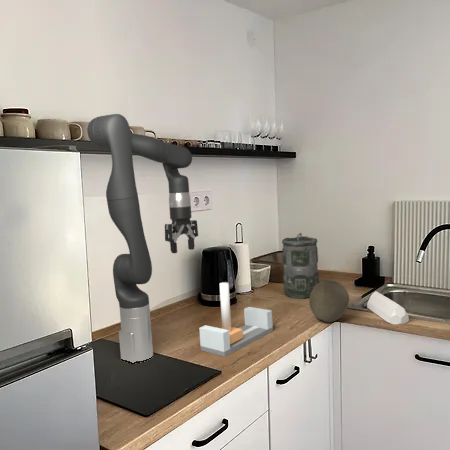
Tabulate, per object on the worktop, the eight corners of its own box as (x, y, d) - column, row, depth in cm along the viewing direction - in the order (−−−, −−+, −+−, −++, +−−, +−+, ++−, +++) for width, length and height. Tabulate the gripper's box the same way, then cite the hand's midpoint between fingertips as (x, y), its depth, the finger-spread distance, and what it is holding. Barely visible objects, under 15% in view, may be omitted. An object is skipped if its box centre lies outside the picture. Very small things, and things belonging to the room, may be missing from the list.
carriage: (228, 345, 147) (224, 287, 145) (211, 341, 152) (207, 284, 150) (243, 337, 153) (240, 281, 151) (226, 334, 158) (223, 279, 156)
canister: (317, 299, 201) (314, 235, 198) (281, 298, 206) (278, 236, 203) (321, 290, 216) (319, 231, 213) (287, 289, 221) (285, 231, 218)
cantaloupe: (342, 329, 162) (340, 287, 160) (304, 324, 170) (302, 284, 168) (354, 317, 174) (353, 278, 172) (318, 313, 181) (317, 275, 180)
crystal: (360, 298, 185) (386, 316, 162) (375, 288, 186) (402, 304, 162) (369, 313, 186) (396, 333, 163) (384, 303, 186) (413, 321, 163)
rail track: (224, 356, 143) (223, 333, 143) (200, 350, 150) (199, 327, 149) (272, 331, 164) (271, 310, 163) (250, 326, 170) (249, 306, 170)
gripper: (172, 207, 154) (176, 255, 156) (201, 203, 165) (204, 248, 167) (157, 207, 159) (161, 253, 161) (186, 204, 170) (189, 247, 172)
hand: (183, 251), depth 164 cm, fingers open, 8 cm apart
